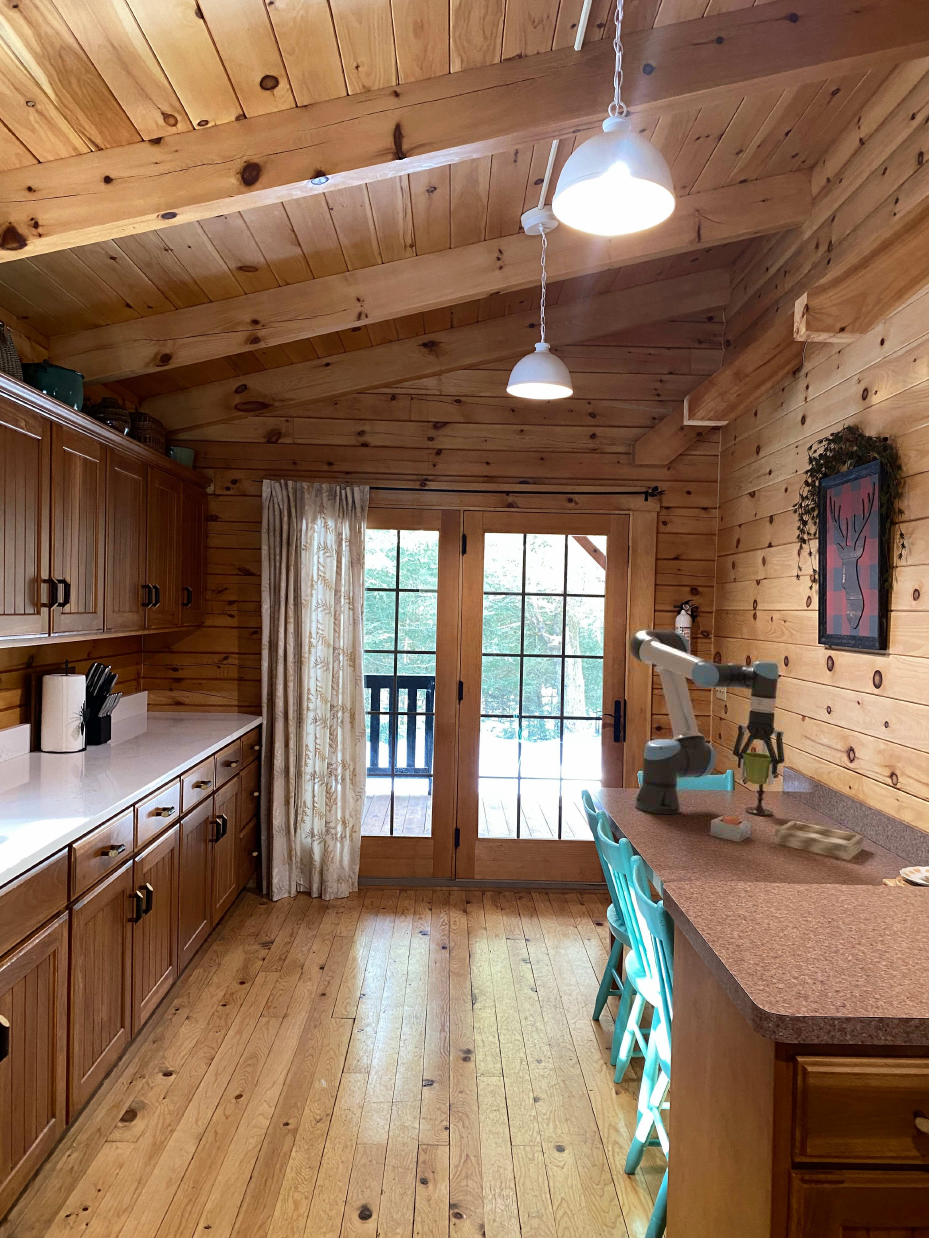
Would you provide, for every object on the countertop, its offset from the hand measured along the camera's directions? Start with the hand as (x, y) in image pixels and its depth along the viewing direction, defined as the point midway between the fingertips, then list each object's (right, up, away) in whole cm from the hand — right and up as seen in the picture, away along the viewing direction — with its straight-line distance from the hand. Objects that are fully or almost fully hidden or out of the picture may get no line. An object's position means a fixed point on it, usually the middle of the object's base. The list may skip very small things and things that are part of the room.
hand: (756, 781), depth 266 cm
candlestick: (+10, -16, +26) cm, 32 cm away
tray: (+15, -17, -12) cm, 26 cm away
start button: (-11, -13, -8) cm, 18 cm away
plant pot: (0, -1, 0) cm, 0 cm away
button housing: (-11, -15, -7) cm, 20 cm away
